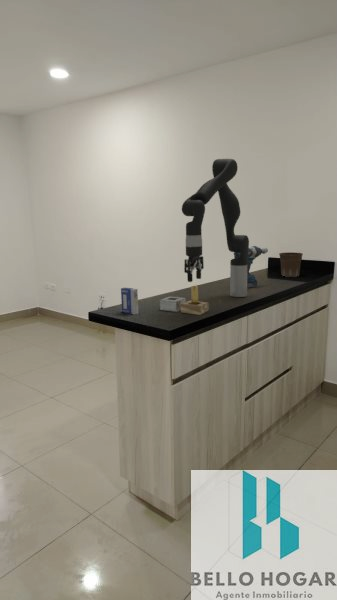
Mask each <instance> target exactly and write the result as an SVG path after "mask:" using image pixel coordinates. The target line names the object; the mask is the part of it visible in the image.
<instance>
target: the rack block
mask: <svg viewBox="0 0 337 600" xmlns="http://www.w3.org/2000/svg"><path fill="white" fill-rule="evenodd" d="M209 306H210V305H209V302H207V301H200V300H198V304H197V305H195V304H191V300H188V301H187V300H186V302H185V303H182V304H181V310H180V313H183V314H184V313H185V314H190V315H199V316H200V315H203V314H204V313H207V312H208V311H209V310H210V309H209Z"/></svg>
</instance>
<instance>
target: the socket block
mask: <svg viewBox="0 0 337 600" xmlns="http://www.w3.org/2000/svg"><path fill="white" fill-rule="evenodd" d="M185 302H187V300H186V297H179V296H167V297H164V298H161V299H159V308H160V311H167V312H174V313H177V312H179V311H180V312H181V304H182V303H185Z"/></svg>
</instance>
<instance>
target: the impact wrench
mask: <svg viewBox="0 0 337 600" xmlns="http://www.w3.org/2000/svg"><path fill="white" fill-rule="evenodd" d="M267 253H268V247H262V248H261V247H258V246H256V245H253V246H252V245H251V246H249V250H248V263H247V289H252V288H253V287H254V288H256V287H258V280H257V279H256V275H254V274H250V270H251V267H252V264H253V263H254V262H253V261H254V260H256V258H259V256H261V255H262V254H263V255H265V254H267ZM233 255H234V256H233V257H234V258H237V257H239V256H240V252H233ZM234 258H233V259H234Z"/></svg>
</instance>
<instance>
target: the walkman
mask: <svg viewBox="0 0 337 600" xmlns="http://www.w3.org/2000/svg"><path fill="white" fill-rule="evenodd" d="M138 293H139V292H138V288H132V287H122V288H120V294H121V295H120V299H121V313H122V312H124V313H123V314H128V313H129V314H130V315H137V314H139V297H138Z"/></svg>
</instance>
